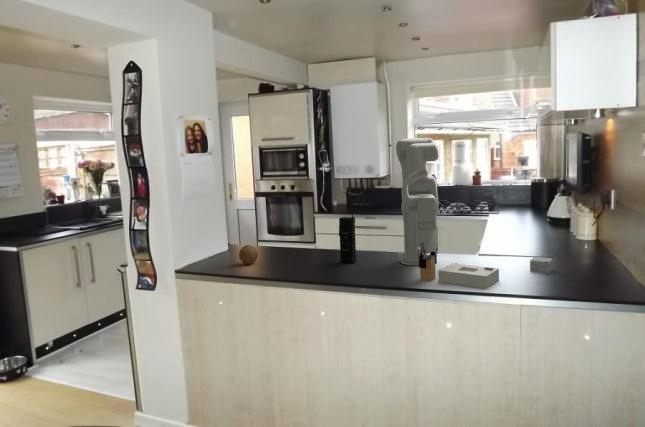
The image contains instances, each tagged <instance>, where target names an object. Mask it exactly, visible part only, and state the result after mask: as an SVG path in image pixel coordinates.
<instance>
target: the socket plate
mask: <svg viewBox="0 0 645 427" xmlns="http://www.w3.org/2000/svg"><path fill="white" fill-rule="evenodd" d="M437 273H438V274H437V276H438V283H442V284H448V285H456V286H457V285H458V286H463V287H472V288H478V289H487V290H488V288H490V287H491V286H493V285H495V284H496V283H497V282H499V281H500V269H499V268H497V267H496V268H495V267H489V266H479V265H471V264H469V265H468V264H461V263H459V264H458V263H453V262H452V263H450V264H448V265H447V266H444V267H442V268H440V269H438V270H437Z"/></svg>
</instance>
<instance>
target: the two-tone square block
mask: <svg viewBox="0 0 645 427" xmlns="http://www.w3.org/2000/svg"><path fill="white" fill-rule="evenodd" d="M425 259H426V268H419V272H420V273H419V274H420V278H419V279H420V280H422V281H423V280H424V281H433V280H436V264H435V255H429V254H426V257H425Z"/></svg>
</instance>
